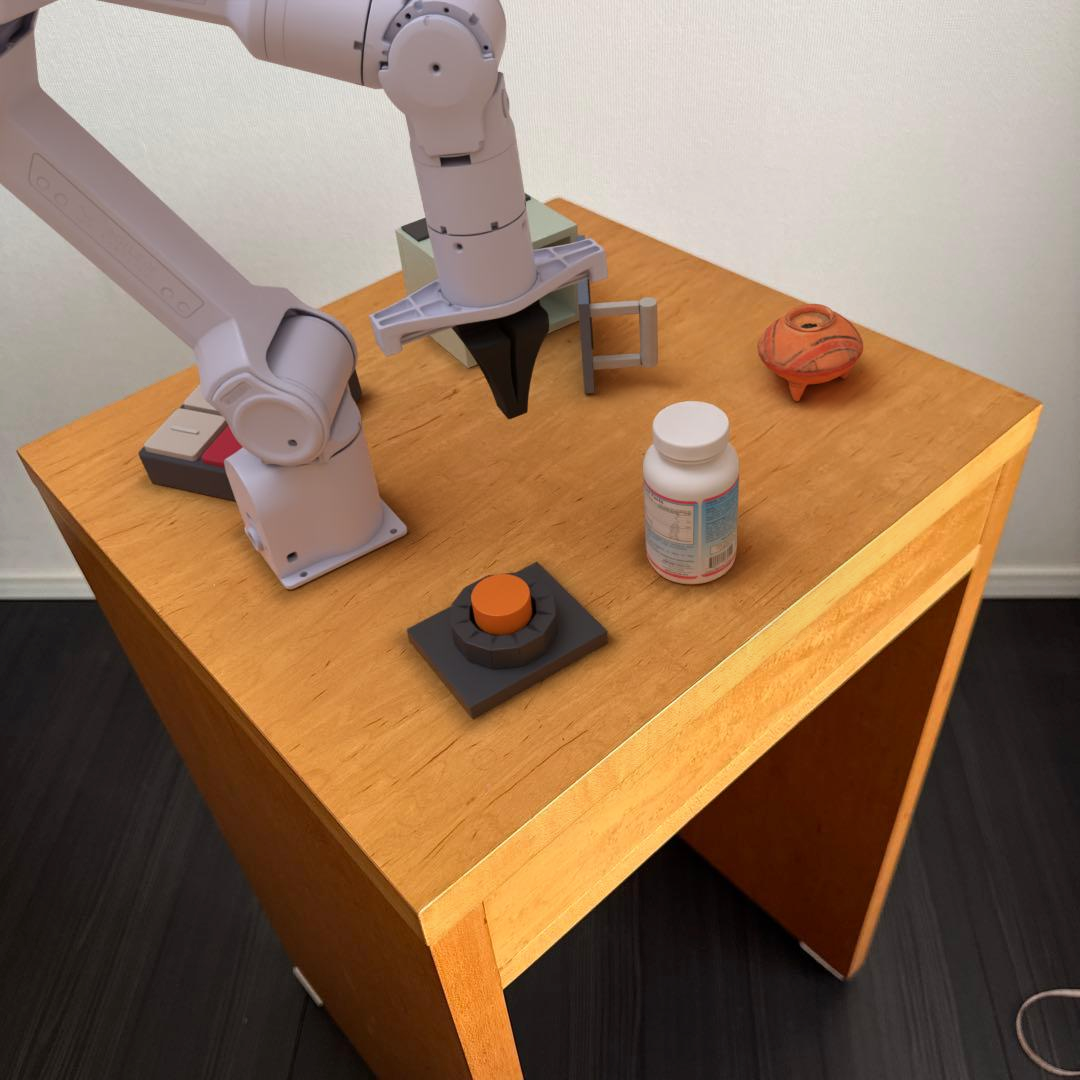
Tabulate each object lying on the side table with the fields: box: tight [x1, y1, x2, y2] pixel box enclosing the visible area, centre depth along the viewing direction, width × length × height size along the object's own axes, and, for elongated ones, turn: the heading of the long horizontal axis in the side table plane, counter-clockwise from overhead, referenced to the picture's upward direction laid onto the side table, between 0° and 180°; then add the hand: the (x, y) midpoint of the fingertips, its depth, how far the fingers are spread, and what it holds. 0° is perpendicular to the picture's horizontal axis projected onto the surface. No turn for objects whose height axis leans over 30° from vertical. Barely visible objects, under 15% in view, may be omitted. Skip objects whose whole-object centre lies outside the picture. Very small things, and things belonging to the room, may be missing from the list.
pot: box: [756, 303, 864, 402], centre depth 87 cm, size 8×8×7 cm
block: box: [406, 561, 609, 720], centre depth 70 cm, size 10×8×3 cm
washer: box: [394, 191, 579, 369], centre depth 97 cm, size 12×10×9 cm
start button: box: [471, 573, 532, 635], centre depth 69 cm, size 4×4×2 cm
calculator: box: [138, 368, 363, 502], centre depth 89 cm, size 11×4×15 cm
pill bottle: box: [642, 400, 740, 585], centre depth 72 cm, size 6×6×11 cm
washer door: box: [575, 234, 659, 394], centre depth 91 cm, size 11×6×8 cm, turn 0°
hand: (512, 408), depth 72 cm, fingers closed
